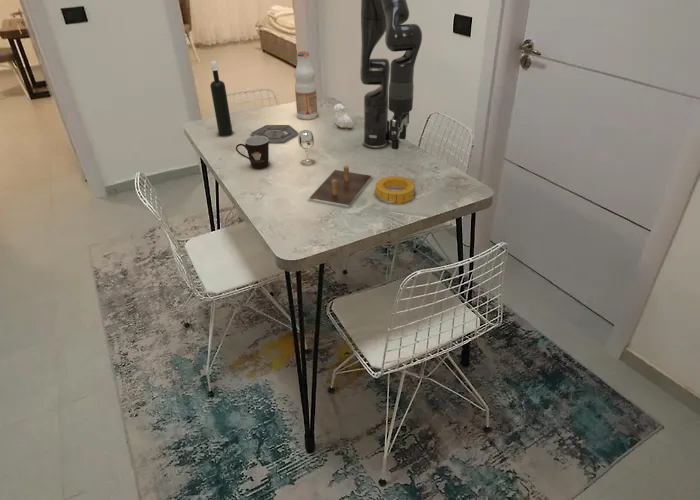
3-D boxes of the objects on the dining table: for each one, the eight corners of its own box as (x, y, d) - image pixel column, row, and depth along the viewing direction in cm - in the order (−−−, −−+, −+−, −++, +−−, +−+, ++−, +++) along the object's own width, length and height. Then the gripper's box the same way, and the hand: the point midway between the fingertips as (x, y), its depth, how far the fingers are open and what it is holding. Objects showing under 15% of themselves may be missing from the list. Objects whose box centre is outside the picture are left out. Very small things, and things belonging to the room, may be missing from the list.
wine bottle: (235, 132, 211) (223, 60, 194) (226, 137, 207) (213, 63, 190) (225, 130, 214) (213, 58, 196) (216, 134, 210) (202, 61, 192)
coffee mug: (275, 162, 186) (273, 137, 180) (263, 172, 180) (260, 146, 174) (250, 157, 190) (246, 133, 184) (237, 166, 184) (233, 141, 178)
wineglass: (313, 166, 183) (311, 136, 176) (298, 165, 184) (295, 135, 177) (317, 159, 188) (315, 129, 181) (302, 158, 189) (300, 129, 182)
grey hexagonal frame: (255, 126, 216) (254, 125, 215) (300, 126, 215) (300, 124, 215) (247, 142, 202) (247, 140, 201) (295, 142, 201) (295, 140, 201)
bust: (336, 126, 221) (321, 110, 213) (348, 114, 220) (333, 97, 213) (349, 135, 212) (334, 118, 204) (361, 122, 212) (346, 105, 204)
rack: (335, 172, 179) (334, 156, 175) (371, 178, 174) (371, 162, 171) (309, 200, 162) (308, 183, 159) (348, 207, 158) (348, 190, 154)
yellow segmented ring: (398, 182, 172) (398, 172, 170) (421, 196, 163) (422, 187, 161) (368, 192, 166) (368, 182, 164) (391, 207, 157) (391, 198, 155)
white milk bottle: (296, 120, 222) (291, 55, 206) (297, 112, 230) (292, 50, 214) (317, 119, 222) (313, 55, 206) (317, 112, 230) (314, 49, 214)
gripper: (406, 103, 145) (403, 154, 154) (418, 88, 155) (415, 136, 165) (382, 100, 147) (381, 151, 156) (395, 86, 157) (393, 134, 167)
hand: (398, 143), depth 161 cm, fingers open, 8 cm apart
